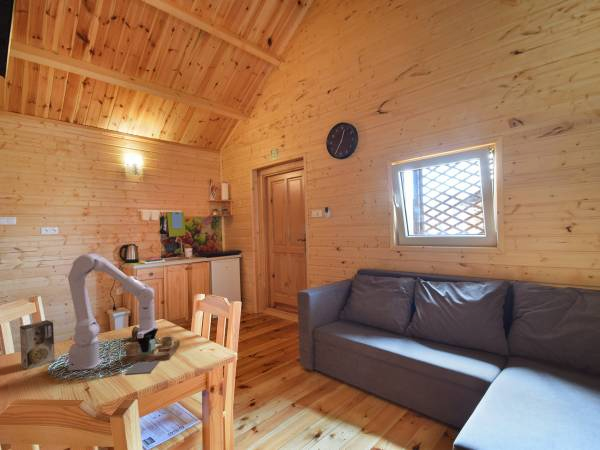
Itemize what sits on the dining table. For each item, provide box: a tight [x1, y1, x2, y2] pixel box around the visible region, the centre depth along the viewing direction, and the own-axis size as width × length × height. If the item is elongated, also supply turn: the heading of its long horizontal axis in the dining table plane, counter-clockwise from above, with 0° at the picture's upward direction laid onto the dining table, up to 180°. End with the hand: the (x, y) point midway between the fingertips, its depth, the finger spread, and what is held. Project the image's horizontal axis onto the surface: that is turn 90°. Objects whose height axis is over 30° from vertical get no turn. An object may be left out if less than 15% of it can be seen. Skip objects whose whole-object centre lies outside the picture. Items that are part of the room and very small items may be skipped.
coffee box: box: [19, 319, 56, 370], centre depth 124 cm, size 9×6×16 cm
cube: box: [139, 338, 156, 355], centre depth 127 cm, size 4×4×4 cm
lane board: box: [121, 340, 181, 364], centre depth 130 cm, size 18×14×2 cm
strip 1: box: [124, 342, 158, 356], centre depth 127 cm, size 12×4×5 cm, turn 95°
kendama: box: [128, 326, 139, 344], centre depth 146 cm, size 6×10×20 cm
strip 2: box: [155, 334, 175, 348], centre depth 134 cm, size 11×4×5 cm, turn 95°
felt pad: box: [124, 360, 160, 376], centre depth 117 cm, size 9×9×1 cm
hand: (147, 349), depth 127 cm, fingers closed on cube, 4 cm apart
